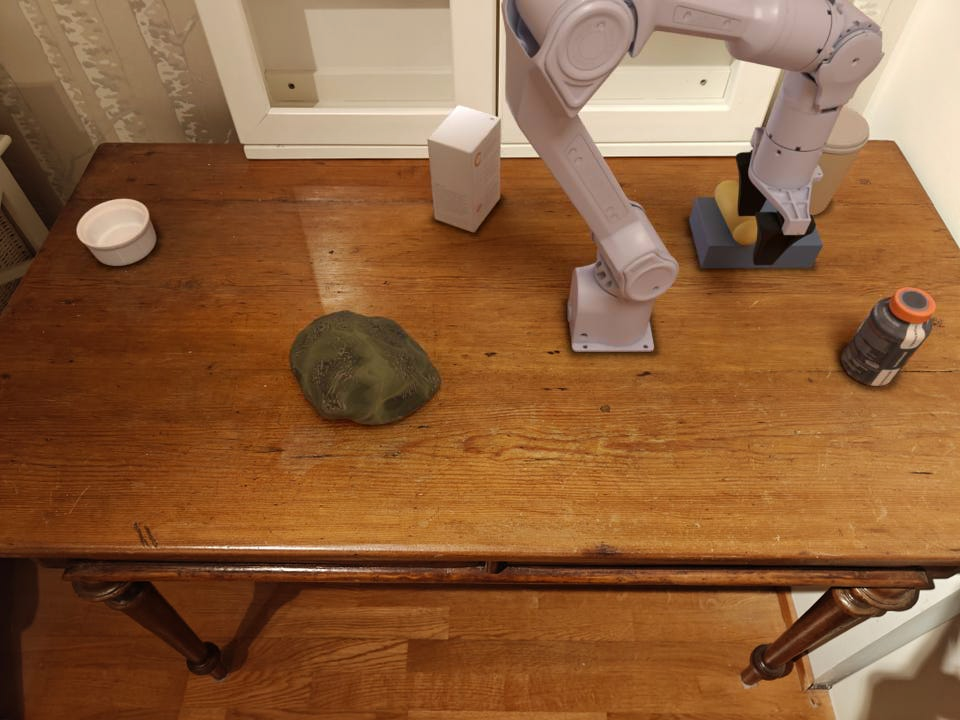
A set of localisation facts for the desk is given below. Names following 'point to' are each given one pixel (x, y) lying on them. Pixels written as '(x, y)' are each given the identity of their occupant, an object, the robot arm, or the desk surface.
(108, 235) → the ramekin
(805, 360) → the desk surface
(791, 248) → the block
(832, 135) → the coffee cup
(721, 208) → the yellow capsule pill
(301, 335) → the decorative rock
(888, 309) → the pill bottle
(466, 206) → the small box
